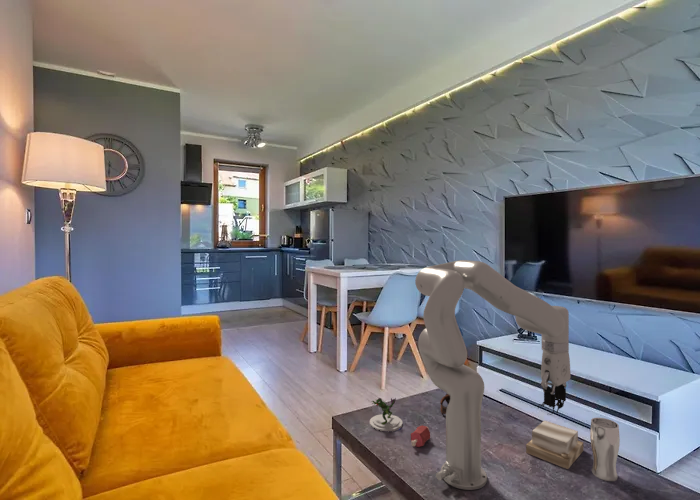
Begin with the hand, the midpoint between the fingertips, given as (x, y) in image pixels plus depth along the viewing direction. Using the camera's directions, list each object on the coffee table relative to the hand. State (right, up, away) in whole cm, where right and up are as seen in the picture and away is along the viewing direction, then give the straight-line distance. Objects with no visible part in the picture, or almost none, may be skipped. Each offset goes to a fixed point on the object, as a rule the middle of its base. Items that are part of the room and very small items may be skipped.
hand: (555, 401), depth 121 cm
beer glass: (+8, -16, -12) cm, 22 cm away
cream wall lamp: (0, -16, 0) cm, 16 cm away
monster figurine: (-51, -16, +21) cm, 58 cm away
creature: (-2, -3, 0) cm, 3 cm away
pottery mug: (-25, -16, +29) cm, 41 cm away
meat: (-41, -17, +7) cm, 45 cm away
